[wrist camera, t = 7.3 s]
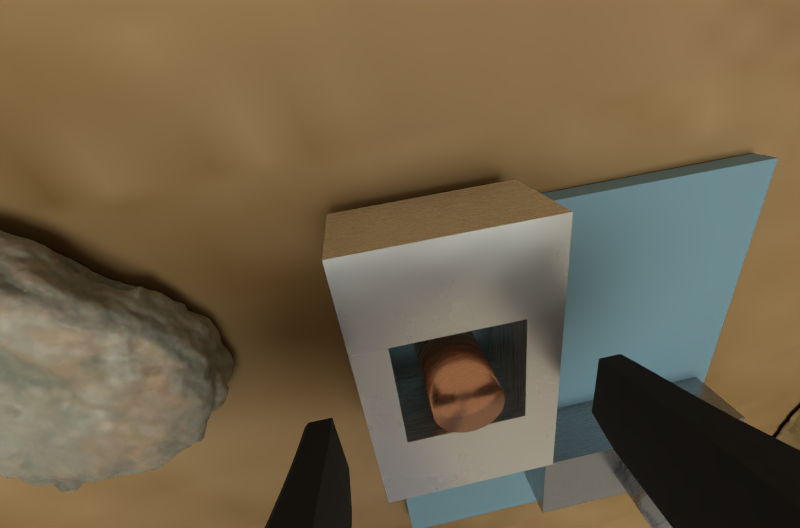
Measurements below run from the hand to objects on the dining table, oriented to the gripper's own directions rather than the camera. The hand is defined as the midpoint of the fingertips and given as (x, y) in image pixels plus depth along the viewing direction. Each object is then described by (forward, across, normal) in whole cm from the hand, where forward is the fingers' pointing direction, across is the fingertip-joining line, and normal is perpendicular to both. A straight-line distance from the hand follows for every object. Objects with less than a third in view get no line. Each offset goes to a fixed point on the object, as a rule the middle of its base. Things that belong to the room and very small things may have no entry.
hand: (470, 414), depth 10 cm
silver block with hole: (+3, 0, 0) cm, 4 cm away
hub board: (+4, -4, +4) cm, 7 cm away
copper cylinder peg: (+4, 0, 0) cm, 4 cm away
